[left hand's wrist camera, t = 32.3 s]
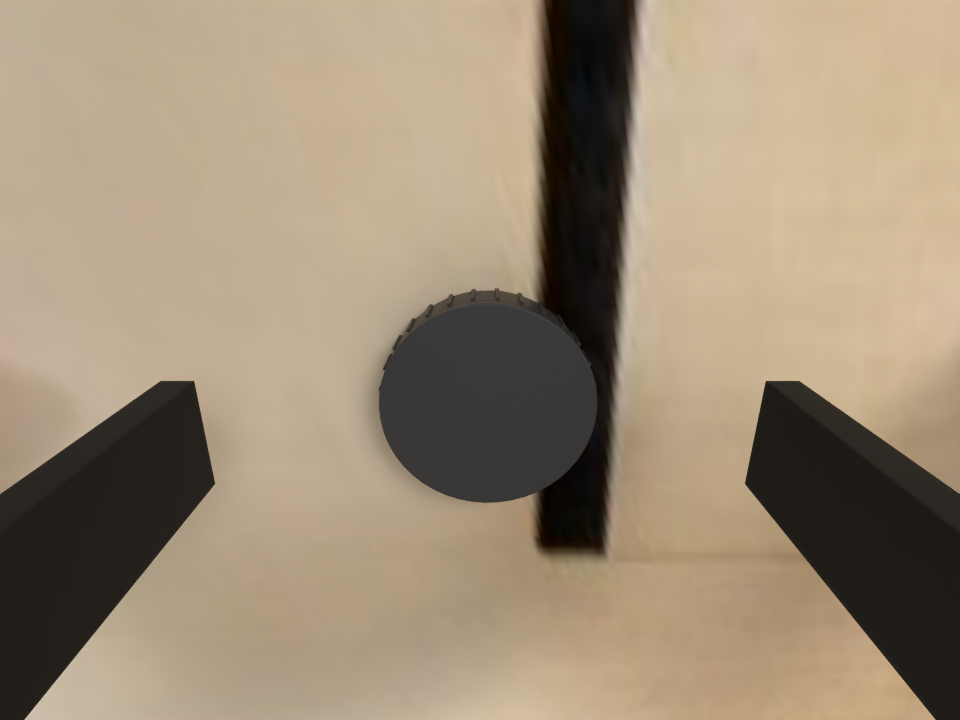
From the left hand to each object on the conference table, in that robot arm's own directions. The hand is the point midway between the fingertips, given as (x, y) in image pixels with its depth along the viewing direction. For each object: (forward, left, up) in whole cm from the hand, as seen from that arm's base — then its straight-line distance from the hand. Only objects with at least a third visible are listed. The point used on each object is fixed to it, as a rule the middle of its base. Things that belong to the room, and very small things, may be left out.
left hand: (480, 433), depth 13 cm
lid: (+1, 0, -3) cm, 3 cm away
